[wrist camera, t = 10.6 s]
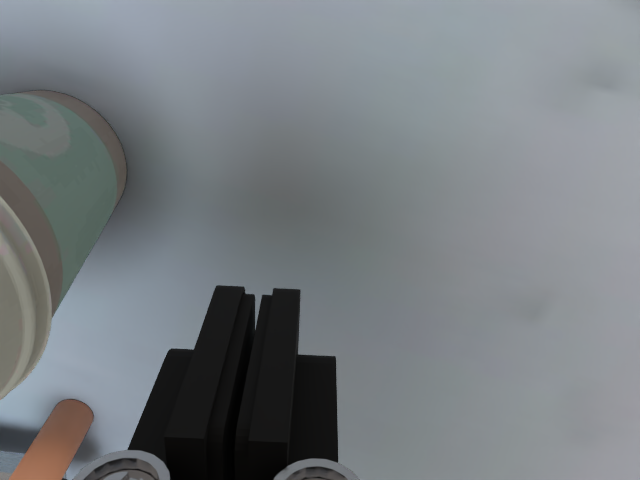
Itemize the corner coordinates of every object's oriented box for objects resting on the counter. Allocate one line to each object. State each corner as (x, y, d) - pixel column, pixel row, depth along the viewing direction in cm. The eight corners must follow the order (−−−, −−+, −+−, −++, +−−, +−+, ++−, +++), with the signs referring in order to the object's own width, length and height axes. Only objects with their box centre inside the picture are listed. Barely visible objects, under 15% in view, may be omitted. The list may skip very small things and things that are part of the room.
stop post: (95, 430, 29) (52, 513, 25) (57, 428, 29) (7, 510, 25) (91, 400, 28) (45, 480, 24) (51, 398, 28) (-2, 478, 24)
